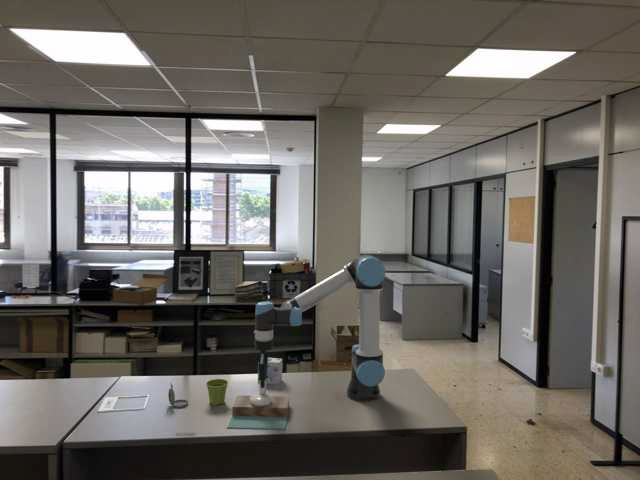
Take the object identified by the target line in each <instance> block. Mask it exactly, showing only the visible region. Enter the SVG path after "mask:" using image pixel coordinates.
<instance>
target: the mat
mask: <svg viewBox="0 0 640 480" xmlns="http://www.w3.org/2000/svg"><path fill="white" fill-rule="evenodd" d="M287 421H288V416H287V417H268V416H232V415H231V418H230V420H229V423H228V425H227V428H226V429H235V430H236V429H241V430H242V429H243V430H245V429H247V430H248V429H249V430H283V431H285V430H286V428H287Z"/></svg>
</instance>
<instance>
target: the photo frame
mask: <svg viewBox="0 0 640 480" xmlns="http://www.w3.org/2000/svg"><path fill="white" fill-rule="evenodd" d="M145 397H146V398H145ZM129 398H131V399H132V398H145V402H144V405H143V407H136V408H135V407H131V408H117V409H114V408H115V406H116V404H117V402H118V400H119V399H129ZM149 398H150V394H145V395H144V394H143V395H128V396H127V395H125V396H123V395H122V396H107V397H106V396H105V397H104V399H103V401H102V403H101V405H100V407H99V408H98V409H97V413H111V412H126V411H139V410H140V411H143V410H146V407H147V404H148V401H149Z"/></svg>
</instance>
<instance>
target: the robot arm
mask: <svg viewBox="0 0 640 480" xmlns="http://www.w3.org/2000/svg"><path fill="white" fill-rule="evenodd" d="M385 276H386V267H385V266H384V263H383V262H382V261H381V260H380V259H379V258H378V257H376V256H373V255H372V254H369V253H365V254H361V255H359V256H357V257H356V258H354V259H353V260H352V261H350V262H348V263H347V264H345V265H344V266H343V268H342V269H341V270H339V271H337V272H336V273H333V275H331V276H329V277H327V278H325V279H324V280H322V281H321V282H319V283H317V284H315V285H314V286H311V287H310V288H308V289H306V290H305V291H303V292H301V293H300V294H298V295H297V296H295V297H292V298H291V299H289V300H288V299H287V300H285V301H284V302H282V304H281V305H280V307H275V305H274V303H273V302H271V301H260V302H257V303H256V304H255V314H254V331H253V334H254V350H255V349H256V350H257V351H259V353H258V354H257V355H258V357H257V358H258V362H259V378H258V377H257V381H258V380H260V383H259V387H258V388H259V391H258V394H267V383H266V378H268V376H266V375H267V362H268V358H269V355H270V352H269V351H270V350H272V349H273V348H274V347H273V346H274V344H273V343H274V340H273V339H274V327H275V326H276V327H277V326H282V327H283V326H284V327H299V326H301V325H302V323H303V322H302V321H303V320H302V319H303V315H302V313H303V312H305V311H307V310H309V309H311V308H312V307H315V305H318V304H319V303H321V302H322V301H325V300H326V299H328V298H330V297H331V296H333V295H335V294H337V293H338V292H340V291H342V290H344V289H346V288H347V287H348V286H350V285H355V290H356V291H357V292H358V304H359V305H358V344H354V345H352V347H351V369H350V370H351V371H350V373H351V374H350V375H351V377H350V380H349V382H348V385H347V389H346V396H347V397H348V398H349V399H352V400H354V401H359V402H373V401H376V400H379V399H380V398H381V388H380V385H379V384H380V383H381V384H382V382H383V381H384V378H385V377H386V370H385V367H384V351H383V350H382V349H381V348H380V309H381V307H380V306H381V305H380V298H381V297H380V293H381V291H383V289H384V279H385ZM258 362H257V363H258Z"/></svg>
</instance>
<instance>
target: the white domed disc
mask: <svg viewBox="0 0 640 480" xmlns="http://www.w3.org/2000/svg"><path fill="white" fill-rule="evenodd" d="M250 396H251V397H250V404H251V405H253V406H258V407H262V406H268V405H270V404H271V403H272V396H271V395H270V394H269V393H266V394H259V393H256V394H253V395H250Z"/></svg>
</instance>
